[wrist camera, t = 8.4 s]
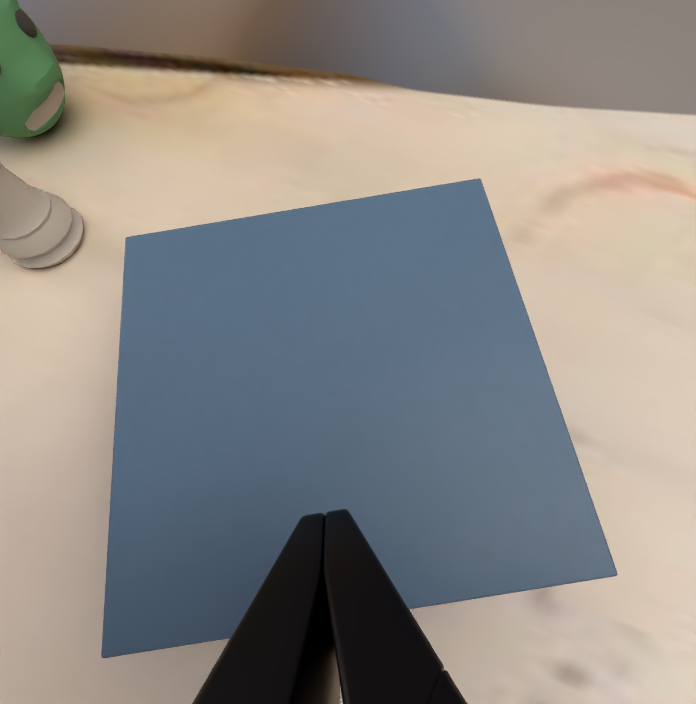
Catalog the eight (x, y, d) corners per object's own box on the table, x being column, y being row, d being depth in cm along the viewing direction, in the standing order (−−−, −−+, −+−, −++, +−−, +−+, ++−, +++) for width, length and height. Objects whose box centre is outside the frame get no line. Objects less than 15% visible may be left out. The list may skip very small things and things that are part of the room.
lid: (134, 247, 17) (124, 236, 16) (477, 190, 17) (481, 177, 16) (114, 652, 12) (100, 659, 11) (606, 573, 12) (619, 575, 11)
